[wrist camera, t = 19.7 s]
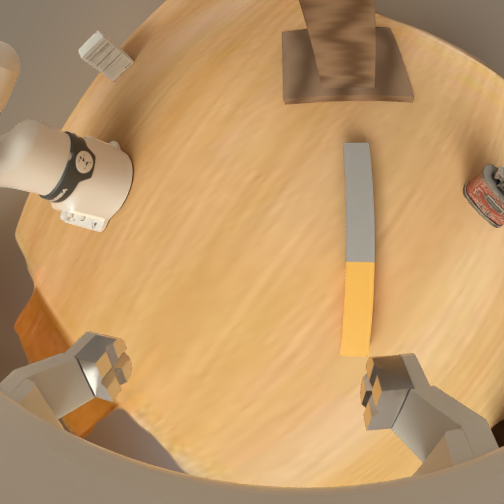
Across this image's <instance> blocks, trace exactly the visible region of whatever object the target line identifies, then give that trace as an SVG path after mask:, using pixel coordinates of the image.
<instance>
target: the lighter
mask: <svg viewBox="0 0 504 504" xmlns="http://www.w3.org/2000/svg"><path fill="white" fill-rule="evenodd" d="M463 195H464V197H465V198H466V200H467V201H468V202H469V203H470V205H471V206H472V207H473V208H474V209H475V211H476V212H477V213H478V214H479V215H480V216H481V217H482V218H484V219H485V220H486V221H487V222H488V223H490V224H491V225H492V226H494V227H496V228H499V227H501V226H503V225H504V167H503V166H500V167H499V168H497V167H495V166H494V165H492V164H488V165H486V166H485V167H484V168H483V169H482V172H481V173H480V174H479V175H478V176H476V177H475V178H474V179H473V180H472V181H471V182H468V183H467V184H466V185H465V186H464V188H463Z"/></svg>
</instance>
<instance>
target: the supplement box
mask: <svg viewBox="0 0 504 504" xmlns="http://www.w3.org/2000/svg"><path fill="white" fill-rule="evenodd" d="M79 54H80V56H81V59H83V60H84V61H86V62H87V63H88V64H90V65H91V66H92V67H94V68H95V69H97V70H98V71H99V72H101V73H102V74H104V75H105V76H106V77H108V78H109V79H111V80H112V81H113V82H114V81H115V80H116V79H117V78H118V77H119V76H120V75H121V74H122V73H123V72H124V71H125V70H127V69H128V68H129V67H130V66H131V65H132V64H133V63H134V61H133V60H132V59H131V57H130V56H129V55H128V54H127V53H126V52H125V51H124V50H122V49H121V48H120V47H119V46H118V45H116V44H115V43H114V42H113V41H112V40H110V39H109V38H108V37H107V36H106V35H104V34H103V33H102V32H101V31H99V30H98V31H97V32H96V33H94V34H93V35H92V36H91V37H90V38H89V39H88V40H87V41H86V42H85V44H84V45H83V46H82V47H81V48H80V49H79Z"/></svg>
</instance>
